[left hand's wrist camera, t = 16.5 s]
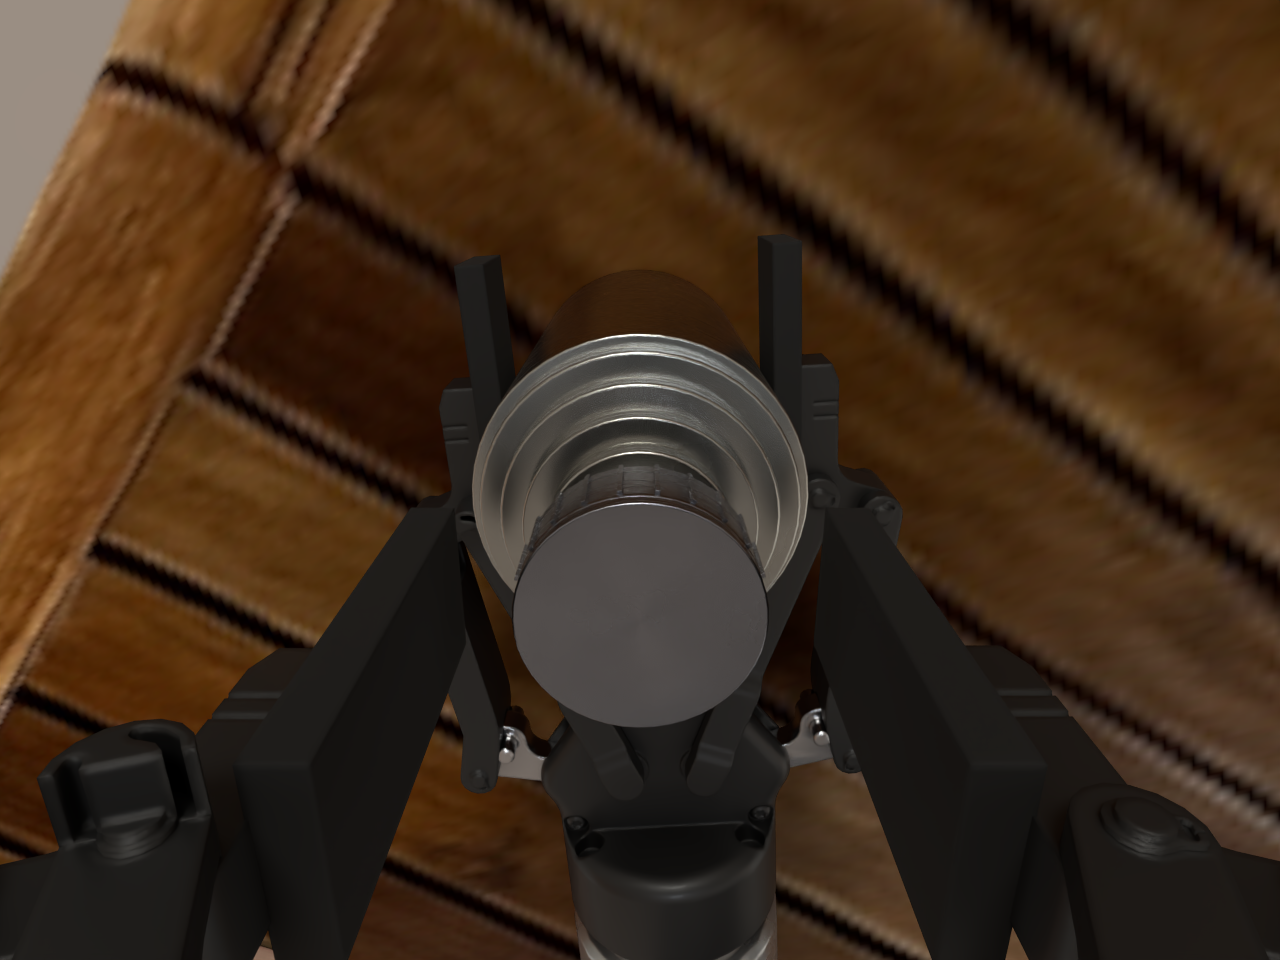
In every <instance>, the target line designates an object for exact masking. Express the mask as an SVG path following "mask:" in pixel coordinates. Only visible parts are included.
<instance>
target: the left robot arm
mask: <svg viewBox="0 0 1280 960" xmlns="http://www.w3.org/2000/svg"><path fill="white" fill-rule="evenodd" d="M465 645H466V633H465V622H464V610H463V599H462V587H461V576H460V565H459V553H458V542H457V530H456V519H455V508H411V509H410V510H409V511H408V513H407V514H406V516H405V517H404V519H403V520H402V522H401V523H400V524H399V526H398V527H397V529H396V530H395V532H394V533H393V534H392V536H391V537H390V539H389V540H388V542H387V543H386V545H385V546H384V547H383V549H382V550H381V552H380V553H379V555H378V556H377V557H376V559H375V560H374V562H373V563H372V565H371V566H370V568H369V569H368V570H367V572H366V573H365V575H364V576H363V578H362V579H361V580H360V582H359V583H358V585H357V586H356V588H355V589H354V591H353V592H352V593H351V595H350V596H349V598H348V599H347V601H346V602H345V603H344V605H343V606H342V608H341V609H340V611H339V612H338V614H337V615H336V616H335V618H334V619H333V621H332V622H331V624H330V625H329V626H328V628H327V629H326V631H325V632H324V634H323V635H322V637H321V638H320V639H319V641H318V642H317V644H316V645H315V647H314V648H279V649H278V650H276V651H275V652H273V653H272V654H270V655H269V656H267V657H266V658H264V659H263V660H261V661H260V662H258V663H257V664H255V665H254V666H252V667H251V668H249V669H248V670H247V671H246V673H245V674H244V675H243V676H242V678H241V679H240V680H239V681H238V683H237V684H236V685H235V686H234V688H233V689H232V690H231V691H230V693H229V697H228V699H224V700H223V701H222V703H221V704H220V705H219V706H218V708H217V709H216V710H215V711H214V713H213V714H212V719H208V720H207V721H206V723H205V724H204V725H203V726H202V728H201V729H200V730H199V731H198V733H197V734H196V735H195V734H194V732H192V731H191V730H190V729H189V728H188V727H186V726H185V725H184V724H183V723H180V722H174V721H169V720H164V719H154V720H141V721H133V722H129V723H125V724H122V725H118V726H114V727H111V728H107V729H104V730H102V731H100V732H98V733H95V734H93V735H91V736H89V737H87V738H85V739H82V740H80V741H78V742H76V743H75V744H73V745H72V746H70V747H69V748H68V749H66V750H65V751H63V752H62V753H61V754H59V755H58V756H56V757H55V758H53V759H52V760H51V761H50V763H49V764H48V765H47V766H46V768H45V769H44V770H43V771H42V772H41V774H40V775H39V776H38V777H37V781H38V784H39V787H40V790H41V793H42V796H43V799H44V802H45V805H46V808H47V811H48V814H49V817H50V820H51V823H52V826H53V829H54V832H55V836H56V839H57V842H58V845H59V849H58V851H55V852H52V853H49V854H45V855H41V856H37V857H32V858H28V859H24V860H19V861H15V862H11V863H6V864H2V865H0V960H253V959H254V957H255V955H256V953H257V951H258V949H259V947H260V945H261V943H262V941H263V939H264V937H265V935H266V933H267V931H269V936H270V940H271V945H272V949H273V954H274V958H275V960H348V958H349V956H350V953H351V950H352V948H353V945H354V942H355V940H356V937H357V934H358V932H359V929H360V926H361V924H362V921H363V918H364V916H365V913H366V910H367V908H368V905H369V902H370V899H371V897H372V894H373V891H374V889H375V886H376V883H377V881H378V878H379V875H380V873H381V870H382V867H383V865H384V862H385V859H386V857H387V854H388V851H389V849H390V846H391V843H392V841H393V838H394V835H395V833H396V830H397V827H398V825H399V822H400V819H401V817H402V814H403V811H404V809H405V806H406V803H407V801H408V798H409V795H410V792H411V790H412V787H413V784H414V782H415V779H416V776H417V774H418V771H419V768H420V766H421V763H422V760H423V758H424V755H425V752H426V750H427V747H428V744H429V742H430V739H431V736H432V734H433V731H434V728H435V726H436V723H437V720H438V718H439V715H440V712H441V710H442V707H443V704H444V702H445V699H446V696H447V694H448V691H449V688H450V686H451V683H452V680H453V677H454V675H455V672H456V669H457V667H458V664H459V661H460V659H461V656H462V653H463V651H464V648H465ZM814 645H815V648H816V651H817V653H818V656H819V659H820V661H821V664H822V667H823V669H824V672H825V675H826V677H827V680H828V683H829V686H830V688H831V691H832V694H833V696H834V699H835V702H836V704H837V707H838V710H839V712H840V715H841V718H842V720H843V723H844V726H845V728H846V731H847V734H848V736H849V739H850V742H851V744H852V747H853V750H854V752H855V755H856V758H857V760H858V763H859V766H860V768H861V771H862V774H863V776H864V779H865V782H866V784H867V787H868V790H869V792H870V795H871V798H872V801H873V803H874V806H875V809H876V811H877V814H878V817H879V819H880V822H881V825H882V827H883V830H884V833H885V835H886V838H887V841H888V843H889V846H890V849H891V851H892V854H893V857H894V859H895V862H896V865H897V867H898V870H899V873H900V875H901V878H902V881H903V883H904V886H905V889H906V891H907V894H908V897H909V899H910V902H911V905H912V908H913V910H914V913H915V916H916V918H917V921H918V924H919V926H920V929H921V932H922V934H923V937H924V940H925V942H926V945H927V948H928V950H929V953H930V956H931V958H932V960H1005V958H1006V954H1007V949H1008V945H1009V940H1010V935H1011V931H1012V927H1013V929H1014V931H1015V933H1016V935H1017V937H1018V939H1019V941H1020V943H1021V945H1022V947H1023V949H1024V951H1025V953H1026V955H1027V957H1028V959H1029V960H1280V861H1276V860H1272V859H1268V858H1263V857H1259V856H1254V855H1250V854H1246V853H1241V852H1237V851H1233V850H1230V849H1227V848H1223V847H1221V846H1220V844H1219V843H1218V842H1217V840H1216V839H1215V837H1214V836H1213V834H1212V833H1211V832H1210V830H1209V829H1208V827H1207V826H1206V825H1205V824H1203V823H1202V822H1201V821H1200V820H1198V819H1197V818H1196V817H1195V816H1194V815H1192V814H1191V813H1190V812H1189V811H1187V810H1186V809H1185V808H1183V807H1181V806H1180V805H1178V804H1176V803H1174V802H1172V801H1170V800H1168V799H1166V798H1164V797H1162V796H1160V795H1159V794H1156V793H1153V792H1150V791H1147V790H1144V789H1140V788H1137V787H1134V786H1131V785H1127V784H1126V782H1125V781H1124V780H1123V779H1122V778H1121V776H1120V775H1119V774H1118V773H1117V771H1116V770H1115V769H1114V768H1113V766H1112V765H1111V764H1110V763H1109V761H1108V760H1107V759H1106V758H1105V756H1104V755H1103V754H1102V753H1101V751H1100V750H1099V749H1098V748H1097V746H1096V745H1095V744H1094V743H1093V741H1092V740H1091V739H1090V738H1089V736H1088V735H1087V734H1086V733H1085V732H1084V730H1083V729H1082V728H1081V727H1080V725H1079V724H1078V723H1077V722H1076V720H1075V719H1074V718H1073V717H1069V715H1068V710H1067V709H1066V708H1065V707H1064V705H1063V704H1062V703H1061V702H1060V700H1059V699H1058V698H1057V697H1056V696H1052V690H1051V689H1050V688H1049V687H1048V685H1047V684H1046V683H1045V682H1044V681H1043V679H1042V678H1041V677H1040V676H1039V674H1038V673H1037V672H1036V671H1035V669H1034V668H1033V667H1032V666H1031V665H1029V664H1028V663H1026V662H1025V661H1023V660H1022V659H1020V658H1019V657H1017V656H1016V655H1014V654H1013V653H1011V652H1010V651H1008V650H1007V649H1005V648H1004V647H1002V646H965V645H964V644H963V642H962V641H961V639H960V638H959V637H958V635H957V634H956V632H955V631H954V629H953V628H952V626H951V625H950V624H949V622H948V621H947V619H946V618H945V616H944V615H943V614H942V612H941V611H940V609H939V608H938V606H937V605H936V603H935V602H934V601H933V599H932V598H931V596H930V595H929V593H928V592H927V591H926V589H925V588H924V586H923V585H922V583H921V582H920V580H919V579H918V578H917V576H916V575H915V573H914V572H913V570H912V569H911V568H910V566H909V565H908V563H907V562H906V560H905V559H904V557H903V556H902V555H901V553H900V552H899V550H898V549H897V547H896V546H895V545H894V543H893V542H892V540H891V539H890V537H889V536H888V534H887V533H886V532H885V530H884V529H883V527H882V526H881V524H880V523H879V522H878V520H877V519H876V517H875V516H874V514H873V513H872V511H871V510H870V509H869V508H825V519H824V530H823V542H822V553H821V565H820V576H819V587H818V599H817V610H816V622H815V633H814Z"/></svg>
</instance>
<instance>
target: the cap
mask: <svg viewBox="0 0 1280 960" xmlns="http://www.w3.org/2000/svg"><path fill="white" fill-rule="evenodd" d="M762 578H766V575H765V572H764V569H763V566H762V563H761V559H760V556H759V553H758V550H757V547H756V544H755V542H752V543H751V540H750V537H749V534H748V531H747V527H746V524H745V521H744V518H743V516H742V514H739V515H738V514H737V513H736V511H735V510H734V509H733V508H732V507H731V505H730V504H729V503H728V502H727V501H726V500H725V499H724V498H723V496H722V492H721V491H719V490H717V491H715V490H713V489H712V488H710V487H709V486H707V485H706V484H704V483H703V482H701V481H699V480H697V479H695V478H693V474H691V473H688V474H687V475H686V474H683V473H680V472H677V471H674V470H669V469H664V468H659V465H657V464H654V467H648V466H633V467H624V465H619V468H617V469H611V470H607V471H604V472H601V473H598V474H595V475H593V476H590V474H588V475H585V479H584V480H582V481H580V482H578V483H577V484H575V485H573V486H572V487H570V488H569V489H567V490H566V491H565V492H564V493H563V494H562V493H561V492H559V493H558V494H557V495H556V499H555V501H554V502H553V503H552V504H551V505H550V506H549V507H548V508H547V509H546V511H545V512H544V514H543V515H542V517H540V516H538V517H537V518H536V521H535V524H534V527H533V530H532V534H531V537H530V540H529V543H528V545H526V544H525V546H524V549H523V552H522V555H521V559H520V562H519V565H518V568H517V571H516V575H515V578H514V580H515V581H517V584H516V587H515V591H514V597H513V603H512V625H513V633H514V637H515V641H516V644H517V648H518V650H519V653H520V655H521V657H522V659H523V662H524V663H525V665H526V667H527V668H528V670H529V671H530V673H531V675H532V676H533V677H534V678H535V680H536V681H537V682H538V683H539V685H540V686H541V687H542V688H543V689H544V690H545V691H546V692H547V693H549V694H550V695H551V696H552V697H553V698H554V699H556V700H557V701H558V702H560V703H561V704H563V705H564V706H566V707H567V708H569V709H571V710H573V711H574V712H576V713H578V714H580V715H583V716H585V717H588V718H590V719H592V720H596V721H599V722H603V723H606V724H611V725H617V726H622V727H636V728H643V727H658V726H664V725H671V724H674V723H678V722H682V721H685V720H688V719H691V718H693V717H696V716H698V715H701V714H702V713H704V712H706V711H708V710H710V709H712V708H714V707H715V706H717V705H718V704H719V703H721V702H722V701H724V700H725V699H727V698H728V697H729V696H730V695H731V694H732V693H733V692H734V691H735V690H737V689H738V688H739V686H740V685H741V684H742V683H743V682H744V681H745V679H746V678H747V677H748V676H749V674H750V672H751V671H752V669H753V668H754V666H755V665H756V663H757V661H758V659H759V656H760V654H761V652H762V650H763V647H764V643H765V640H766V637H767V630H768V624H769V603H768V599H767V592H766V589H765V586H764V582H763V579H762Z"/></svg>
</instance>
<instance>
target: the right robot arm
mask: <svg viewBox="0 0 1280 960" xmlns="http://www.w3.org/2000/svg"><path fill="white" fill-rule="evenodd" d="M454 270H455V277H456V284H457V291H458V298H459V304H460V311H461V318H462V325H463V332H464V338H465V345H466V352H467V359H468V366H469V372H470V377H467V378H454V379H453V380H452V381H451V382H450V384H449V385H448V386H447V387H446V388H445V389H444V390H443V394H442V398H441V402H440V406H439V410H440V416H441V422H442V426H443V434H444V439H445V447H446V453H447V459H448V465H449V471H450V477H451V483H452V490H451V491H449V492H447V493H445V494H442V495H440V496H429V497H427V498H424V499H423V500H422V501H421V502H420V503H419V504H418V506H417V507H416V508H455V519H456V530H457V542H458V553H459V565H460V576H461V587H462V599H463V610H464V622H465V633H466V645H465V648H464V651H463V653H462V656H461V659H460V661H459V664H458V667H457V669H456V672H455V675H454V677H453V680H452V683H451V686H450V688H449V691H448V693H449V696H450V699H451V702H452V705H453V707H454V710H455V713H456V716H457V719H458V721H459V724H460V727H461V730H462V733H463V735H464V738H463V752H462V767H461V781H462V784H463V785H464V787H465V788H466V789H468V790H469V791H471V792H474V793H486V792H488V791H491V790H492V789H493V788H494V787H495V785H496V782H497V779H498V776H503V777H512V778H522V779H531V780H540V781H542V784H543V787H544V789H545V791H546V792H547V794H548V795H549V796H550V797H551V798H552V799H553V800H554V802H555V803H556V804H557V806H558V808H559V810H560V812H561V816H562V823H563V830H564V838H565V845H566V852H567V860H568V867H569V875H570V882H571V890H572V897H573V902H574V906H575V922H576V929H577V936H578V942H579V949H580V956H581V960H777V911H776V895H775V890H776V843H775V800H776V796H777V794H778V791H779V790H780V788H781V786H782V785H783V783H784V782H785V780H786V779H787V776H788V774H789V770H790V767H795V766H799V765H804V764H808V763H813V762H817V761H821V760H826V759H830V758H833V759H834V762H835V764H836V766H837V768H838V769H839V770H841V771H842V772H845V773H857V772H860V771H861V768H860V766H859V763H858V760H857V758H856V755H855V752H854V750H853V747H852V744H851V742H850V739H849V736H848V734H847V731H846V728H845V726H844V723H843V720H842V718H841V715H840V712H839V710H838V707H837V704H836V702H835V699H834V696H833V694H832V691H831V688H830V686H829V683H828V680H827V677H826V675H825V672H824V669H823V667H822V664H821V661H820V659H819V656H818V653H817V651H816V648H815V645H814V647H813V652H812V659H811V682H812V688H813V690H812V689H807V690H804V691H803V692H802V693H801V695H800V700H799V701H798V702H797V704H796V706H795V715H794V718H793V720H792V721H791V722H790V723H789V724H787V725H786V726H784V727H781V728H779V726H778V725H777V724H776V723H775V722H774V721H773V720H772V719H771V718H770V717H769V716H768V714H767V713H766V712H765V711H764V710H763V709H762V708H761V707H760V706H759V705H758V704H757V702H758V699H759V697H760V693H761V686H762V678H763V674H764V672H765V670H766V667H767V665H768V663H769V661H770V658H771V656H772V654H773V652H774V649H775V647H776V645H777V643H778V640H779V638H780V636H781V634H782V631H783V629H784V627H785V625H786V622H787V620H788V618H789V616H790V613H791V611H792V609H793V607H794V604H795V602H796V600H797V598H798V595H799V593H800V591H801V589H802V587H803V584H804V582H805V580H806V578H807V575H808V573H809V571H810V569H811V566H812V564H813V562H814V560H815V557H816V555H817V553H818V551H819V548H820V546H821V544H822V542H823V530H824V519H825V508H869V509H870V510H871V511H872V513H873V514H874V516H875V517H876V519H877V520H878V522H879V523H880V524H881V526H882V527H883V529H884V530H885V532H886V533H887V534H888V536H889V537H890V539H891V540H892V542H893V543H894V545H895V546H896V545H897V540H898V535H899V531H900V526H901V521H902V508H901V506H900V504H899V502H898V501H897V500H896V499H895V497H894V496H893V495H892V494H891V492H890V491H889V490H888V489H887V487H886V486H885V485H884V484H883V482H882V481H881V480H880V479H879V477H878V476H877V475H876V474H875V473H874V472H873V471H871V470H869V469H865V468H861V469H851V468H848V467H844V466H842V465H839V464H838V408H839V403H838V399H839V380H838V377H837V375H836V372H835V370H834V367H833V365H832V363H831V362H830V361H829V360H828V359H827V358H826V357H825V356H824V355H822V354H821V353H820V354H805V355H802V241H800V240H798V239H795V238H792V237H790V236H787V235H785V234H781V235H767V236H758V278H759V337H760V371H761V372H762V374H763V375H764V377H765V379H766V380H767V382H768V383H769V385H770V387H771V388H772V390H773V391H774V393H775V395H776V396H777V398H778V399H779V401H780V402H781V404H782V406H783V407H784V409H785V410H786V412H787V414H788V415H789V417H790V419H791V421H792V423H793V425H794V427H795V430H796V432H797V434H798V436H799V439H800V442H801V446H802V449H803V452H804V455H805V461H806V467H807V473H808V495H809V496H808V505H807V514H806V519H805V523H804V527H803V531H802V534H801V537H800V540H799V542H798V545H797V547H796V550H795V552H794V554H793V556H792V558H791V560H790V561H789V563H788V565H787V567H786V568H785V570H784V572H783V573H782V575H781V576H780V577H779V578H778V580H777V581H776V582H775V584H774V585H773V586H772V588H771V589H770V590H769V591H768V592H767V599H768V603H769V624H768V630H767V637H766V640H765V643H764V647H763V650H762V652H761V654H760V656H759V659H758V661H757V663H756V665H755V666H754V668H753V669H752V671H751V672H750V674H749V676H748V677H747V678H746V679H745V681H744V682H743V683H742V684H741V685H740V686H739V688H738V689H737V690H735V691H734V692H733V693H732V694H731V695H730V696H729V697H728V698H727V699H725V700H724V701H722V702H721V703H719V704H718V705H717V706H715V707H714V708H712V709H710V710H708V711H706V712H704V713H702V714H701V715H698V716H696V717H693V718H691V719H688V720H685V721H682V722H678V723H674V724H671V725H664V726H658V727H643V728H636V727H622V726H617V725H611V724H606V723H603V722H599V721H596V720H592V719H590V718H588V717H585V716H583V715H580V714H578V713H576V712H574V711H573V710H571V709H569V708H567V707H566V706H564V705H563V704H561V703H560V702H558V701H557V702H558V705H559V707H560V709H561V711H562V713H563V715H564V716H565V717H564V718H563V720H562V721H561V723H560V724H559V725H558V727H557V728H556V730H555V731H554V732H553V734H552V735H551V737H550V738H549V740H543V739H540V738H538V737H537V736H536V735H534V734H533V732H532V730H531V727H530V723H529V720H528V719H527V717H526V716H525V715H524V711H523V709H522V708H521V707H519V706H511V693H510V684H509V681H508V677H507V673H506V670H505V667H504V664H503V661H502V657H501V654H500V651H499V648H498V645H497V642H496V639H495V636H494V633H493V630H492V627H491V623H490V620H489V617H488V614H487V611H486V608H485V605H484V602H483V599H482V596H481V593H480V589H479V586H478V583H477V580H476V577H475V574H474V571H473V568H472V565H471V562H470V559H469V555H468V552H467V549H466V547H467V548H468V550H469V551H470V553H471V555H472V556H473V558H474V559H475V561H476V563H477V564H478V566H479V568H480V569H481V571H482V572H483V574H484V576H485V577H486V579H487V580H488V582H489V584H490V585H491V587H492V588H493V590H494V592H495V593H496V595H497V596H498V598H499V600H500V601H501V603H502V605H503V606H504V608H505V609H506V611H507V613H508V614H509V616H510V617H511V619H512V603H513V597H514V592H513V591H512V590H511V589H510V588H509V587H508V585H507V584H506V583H505V582H504V581H503V579H502V578H501V576H500V575H499V573H498V572H497V570H496V569H495V567H494V566H493V564H492V563H491V561H490V559H489V557H488V555H487V553H486V551H485V548H484V546H483V544H482V541H481V538H480V535H479V532H478V529H477V526H476V521H475V515H474V510H473V499H472V480H473V470H474V463H475V459H476V455H477V451H478V446H479V443H480V441H481V438H482V436H483V433H484V431H485V428H486V426H487V424H488V422H489V420H490V419H491V417H492V415H493V413H494V412H495V410H496V408H497V407H498V405H499V403H500V402H501V400H502V399H503V397H504V395H505V394H506V392H507V391H508V389H509V387H510V386H511V384H512V383H513V381H514V379H515V378H516V377H515V369H514V361H513V354H512V346H511V338H510V330H509V322H508V314H507V306H506V298H505V291H504V283H503V275H502V267H501V259H500V255H492V256H478V257H473V258H471V259H468V260H466V261H464V262H462V263H460V264H458V265H456V266H454ZM465 545H466V546H465Z"/></svg>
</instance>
